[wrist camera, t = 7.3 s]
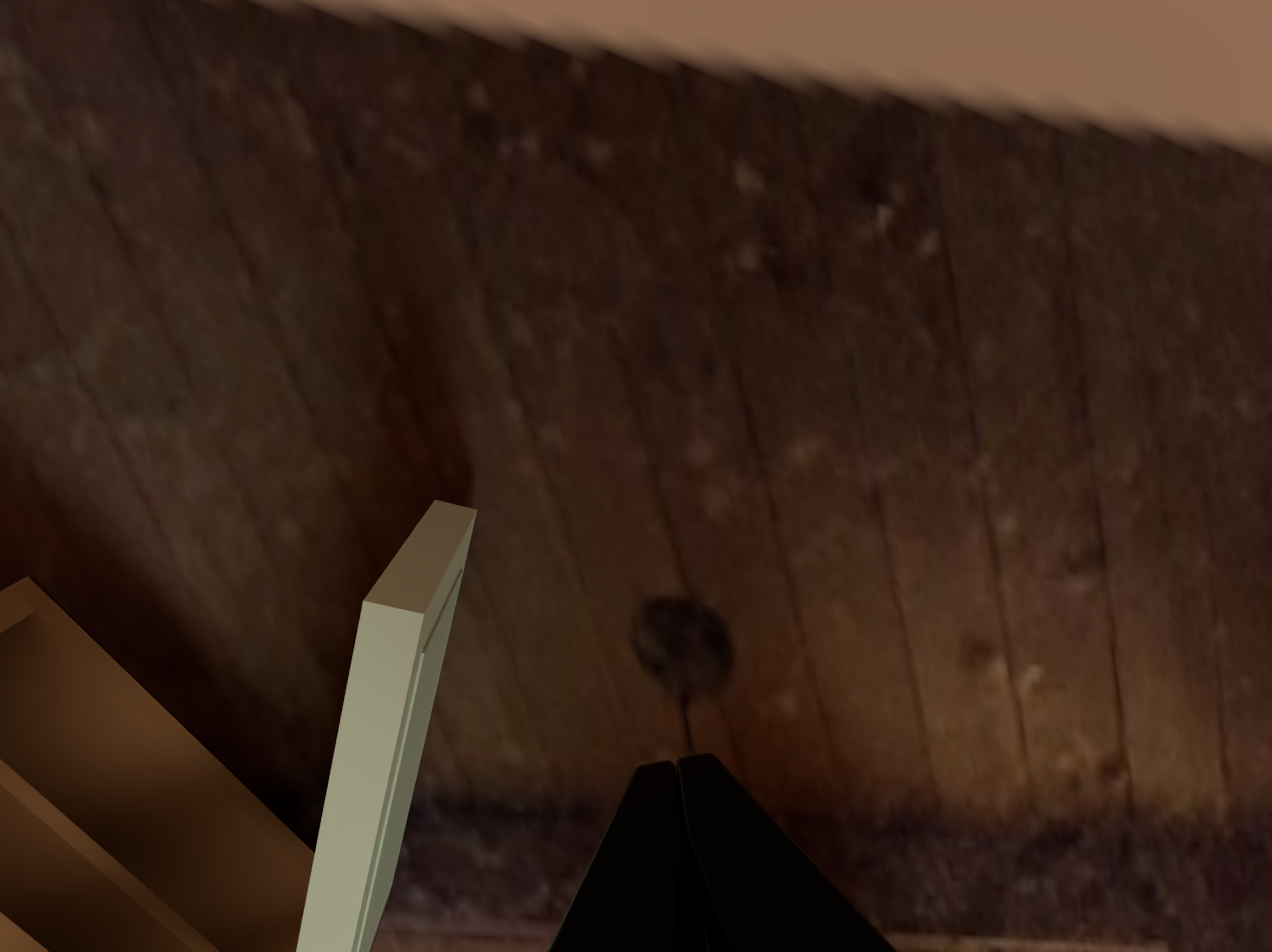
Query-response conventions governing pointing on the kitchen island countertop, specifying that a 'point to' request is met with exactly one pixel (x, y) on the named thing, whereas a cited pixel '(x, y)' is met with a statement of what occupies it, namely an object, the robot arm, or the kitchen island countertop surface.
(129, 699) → the cabinet
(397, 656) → the door
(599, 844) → the robot arm
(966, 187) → the kitchen island countertop surface
